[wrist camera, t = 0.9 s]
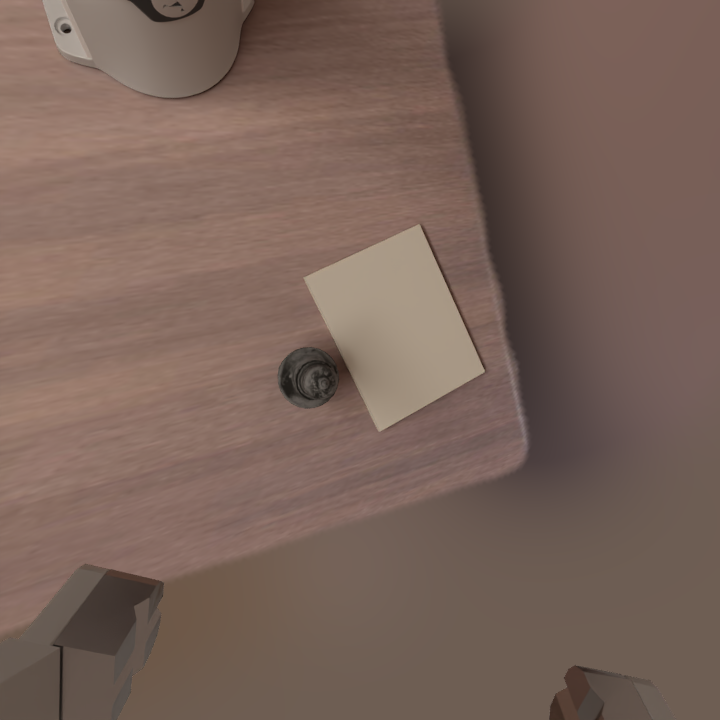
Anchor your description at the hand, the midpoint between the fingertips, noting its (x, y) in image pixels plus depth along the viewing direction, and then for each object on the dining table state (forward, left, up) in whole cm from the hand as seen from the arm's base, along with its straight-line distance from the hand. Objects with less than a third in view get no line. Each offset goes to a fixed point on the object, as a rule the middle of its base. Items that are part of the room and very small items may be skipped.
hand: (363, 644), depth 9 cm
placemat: (-1, +17, -39) cm, 43 cm away
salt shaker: (-1, +5, -39) cm, 40 cm away
